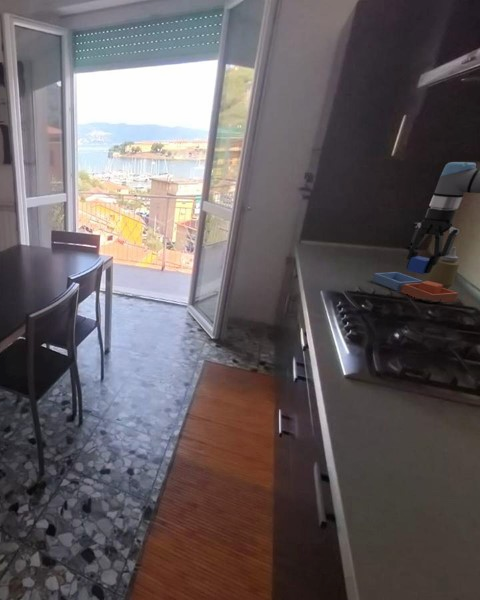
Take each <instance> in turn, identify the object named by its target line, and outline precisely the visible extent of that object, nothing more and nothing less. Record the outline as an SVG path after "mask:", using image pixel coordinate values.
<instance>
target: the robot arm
mask: <svg viewBox="0 0 480 600" xmlns="http://www.w3.org/2000/svg"><path fill="white" fill-rule="evenodd" d="M476 166H477V164H476V162H471V161H470V162H468V161H467V162H465V161H450V162H448V163H446V164H445V166H444V168H443V170H442V171H441V175H440V176H439V178H438V182H437V185H436V187H435V190H434V193H433V195H432V198H431V200H430V202H429V204H428V205H429V207H428V208H427V210H426V213H425V215H424V218H423V220H422V221H420V222H412V223H411V225H410V228H411V230H410V232H409V234H408V238H407V240H406V242H405V244H404V249H405V250H408V251H409V252H408V254H407V257H406V259H407V260H408V262H407V265H406V267H405V269H406V270H407V267H408V264H409V262H410V259H411V258H412V257H416V256H418V254H419V251H418V249H419V248H420V246H422V244H423V243H424V242H425V240H426V238H427V237H428V236H429V235H432V236H434V246H433V247H434V249H433V255H430V257H429V258H430V259H429V262H428V264H427V267H426V269H425V272H424V274H430V272H431V270H432V268H433V267H434V265H436V264H437V263H438V261H439V260H440V259H441V258H442V256H447V255H448V254H449V252H450V250H451V248H452V247H453V244H454V242H455V240H456V238H457V236H458V234H460V233H461V231H462V230H461V229H460V228H456V227H453V221H454V219H455V216H456V214H457V211H458V210H457V209H459V206H460V205H461V202H462V200H463V197H464V194H465V193H468V194H469V193H470V194H480V168H476ZM420 228H422V231H421V233H420V235H419V236H418V233H419V230H420ZM447 231H448V234H449V235H448V236H447V238H446V241H445V244H444V243H443V242H444V236H445V233H446V232H447ZM417 236H418V238H417V239H416V237H417ZM443 244H444V245H443Z"/></svg>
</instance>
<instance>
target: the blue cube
mask: <svg viewBox="0 0 480 600" xmlns="http://www.w3.org/2000/svg"><path fill="white" fill-rule="evenodd" d="M429 259H430V257H425V256H420V255H417V256H416V257H412V258H411V259H410V262H409V261H408V262H409V264H408V263H407V264H408V267H407V266H406V267H407V269H406V271H409V272H413V273H417V274H421V275H423V274H425V273H424V272H425V269H426V267H427V264H428V262H429Z"/></svg>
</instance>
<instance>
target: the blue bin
mask: <svg viewBox="0 0 480 600" xmlns="http://www.w3.org/2000/svg"><path fill="white" fill-rule="evenodd" d="M371 282H374V283H376V284H378V285H381V286H383V287H386V288H388V289H391V290H394V291H396V292H397V291H398V292H399V291H401V290H402V287H403V285H404V284H413V283H421V282H424V280H421V279H419V278H416V277H413V276H410V275H407V274H404V273H401V272H398V271H389V272H374V273H373V277H372V280H371Z"/></svg>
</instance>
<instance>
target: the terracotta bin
mask: <svg viewBox="0 0 480 600" xmlns="http://www.w3.org/2000/svg"><path fill="white" fill-rule="evenodd" d="M419 285H420V283H413V284H404V285H403V287H402V290H400V293H401V294H404V295H406V294H408V295H407V296H409V295H410V296H409V297H411V296H412V297H411V298H414V297H415V298H414V299H417V298H425V299H428V300H432V301H437V300H440V299H441V300H442V301H443V303H455V301H456V300H457V297H458V295H459V292H457V291H454V290H451V289H449V288H448V289H445V288H442V289H441V291H440V293H439V294H431V293H428V292H426V291H423V290H420V289H418V288H419Z"/></svg>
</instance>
